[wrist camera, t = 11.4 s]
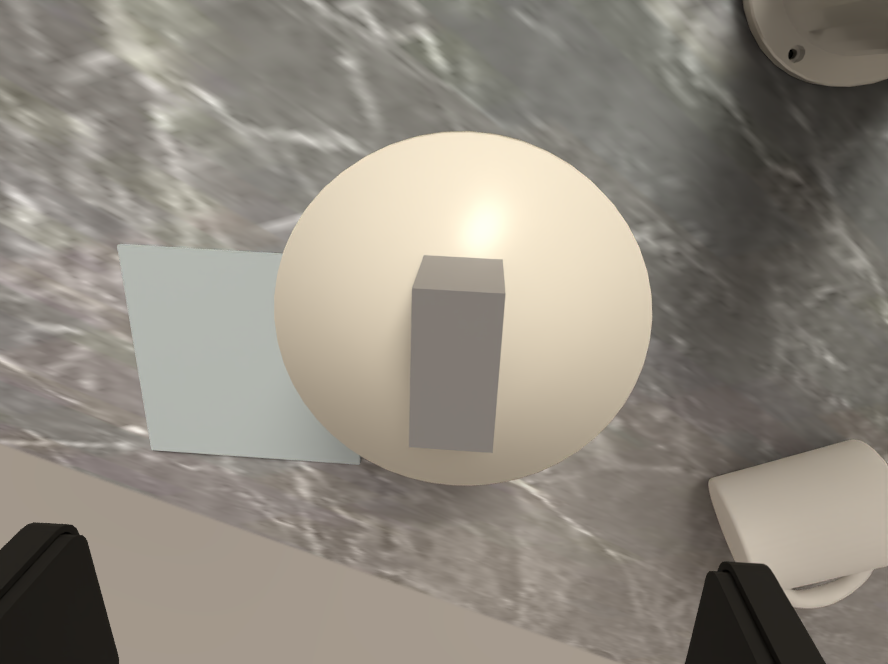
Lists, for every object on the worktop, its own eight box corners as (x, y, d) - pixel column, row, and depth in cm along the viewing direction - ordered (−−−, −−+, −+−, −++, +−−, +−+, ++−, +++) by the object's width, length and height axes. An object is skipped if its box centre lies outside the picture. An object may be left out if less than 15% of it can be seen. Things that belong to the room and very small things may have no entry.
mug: (698, 457, 45) (741, 532, 37) (841, 416, 43) (916, 487, 35) (733, 576, 49) (778, 665, 41) (865, 544, 47) (936, 631, 39)
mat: (358, 257, 40) (357, 259, 40) (360, 461, 46) (359, 464, 46) (120, 243, 41) (116, 245, 40) (154, 447, 47) (151, 450, 46)
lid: (677, 140, 22) (728, 156, 17) (616, 483, 28) (642, 564, 23) (268, 121, 23) (213, 132, 18) (292, 460, 28) (254, 534, 24)
